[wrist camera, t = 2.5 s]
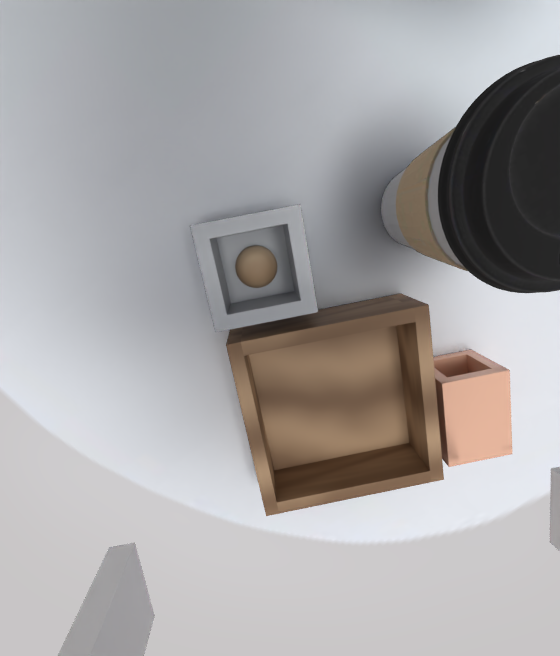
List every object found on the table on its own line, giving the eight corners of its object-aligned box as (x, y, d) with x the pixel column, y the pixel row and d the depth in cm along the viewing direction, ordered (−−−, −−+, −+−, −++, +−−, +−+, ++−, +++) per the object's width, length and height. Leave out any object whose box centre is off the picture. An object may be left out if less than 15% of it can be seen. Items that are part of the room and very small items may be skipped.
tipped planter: (413, 360, 32) (442, 383, 27) (470, 349, 32) (509, 370, 27) (421, 433, 33) (448, 466, 29) (475, 422, 34) (512, 453, 29)
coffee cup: (400, 291, 30) (535, 345, 16) (332, 194, 28) (415, 151, 13) (499, 216, 29) (740, 199, 15) (436, 110, 27) (646, -34, 12)
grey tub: (201, 227, 28) (189, 225, 23) (292, 209, 28) (300, 204, 23) (222, 316, 30) (215, 332, 25) (308, 299, 30) (318, 312, 25)
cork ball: (232, 249, 28) (229, 250, 25) (272, 241, 28) (274, 242, 25) (240, 288, 28) (239, 294, 26) (279, 280, 28) (282, 286, 26)
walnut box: (230, 327, 30) (226, 345, 25) (400, 293, 30) (428, 304, 25) (264, 475, 33) (266, 516, 29) (416, 444, 34) (443, 479, 29)
